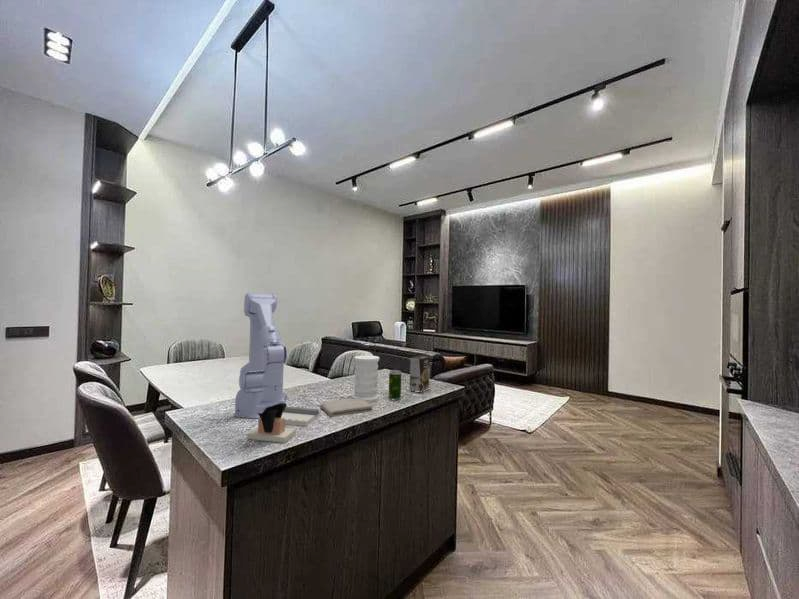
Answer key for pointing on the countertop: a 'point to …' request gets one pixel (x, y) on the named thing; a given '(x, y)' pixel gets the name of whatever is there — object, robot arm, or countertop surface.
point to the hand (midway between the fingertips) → (271, 429)
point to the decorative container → (366, 378)
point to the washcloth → (345, 406)
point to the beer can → (395, 384)
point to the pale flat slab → (276, 435)
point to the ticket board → (300, 415)
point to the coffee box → (419, 373)
